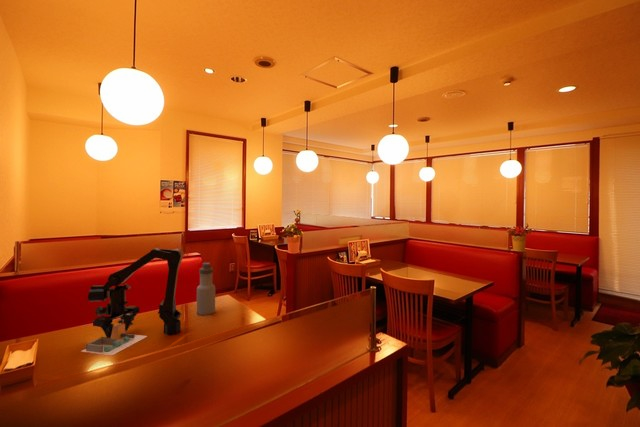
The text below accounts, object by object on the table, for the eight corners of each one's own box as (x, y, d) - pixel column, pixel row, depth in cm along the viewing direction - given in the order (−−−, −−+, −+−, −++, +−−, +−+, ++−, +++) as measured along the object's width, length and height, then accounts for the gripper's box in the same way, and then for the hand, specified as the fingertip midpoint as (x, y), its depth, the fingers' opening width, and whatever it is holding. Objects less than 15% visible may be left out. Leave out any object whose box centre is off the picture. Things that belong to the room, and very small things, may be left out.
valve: (116, 321, 152) (118, 329, 143) (116, 308, 152) (118, 315, 143) (131, 318, 156) (134, 325, 147) (131, 306, 156) (134, 312, 147)
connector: (136, 337, 131) (136, 325, 131) (130, 340, 127) (130, 328, 127) (116, 335, 133) (116, 323, 133) (109, 338, 130) (109, 326, 130)
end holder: (116, 344, 124) (116, 338, 124) (100, 352, 117) (100, 346, 117) (102, 342, 125) (102, 337, 125) (86, 350, 118) (86, 344, 118)
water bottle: (197, 310, 170) (197, 261, 170) (215, 308, 173) (215, 261, 173) (195, 316, 160) (196, 265, 160) (214, 314, 163) (215, 264, 163)
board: (147, 338, 132) (147, 336, 132) (111, 357, 115) (111, 355, 115) (119, 335, 135) (119, 333, 135) (80, 353, 118) (80, 351, 118)
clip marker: (128, 341, 127) (129, 336, 127) (118, 346, 122) (118, 341, 122) (125, 340, 128) (125, 336, 128) (114, 345, 123) (114, 341, 123)
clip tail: (118, 346, 122) (118, 341, 122) (108, 351, 118) (108, 347, 118) (114, 345, 123) (114, 341, 123) (103, 351, 118) (103, 346, 118)
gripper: (120, 292, 142) (120, 325, 142) (82, 305, 123) (81, 342, 123) (140, 294, 139) (140, 327, 139) (104, 307, 121) (104, 344, 121)
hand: (117, 334), depth 131 cm, fingers open, 8 cm apart
